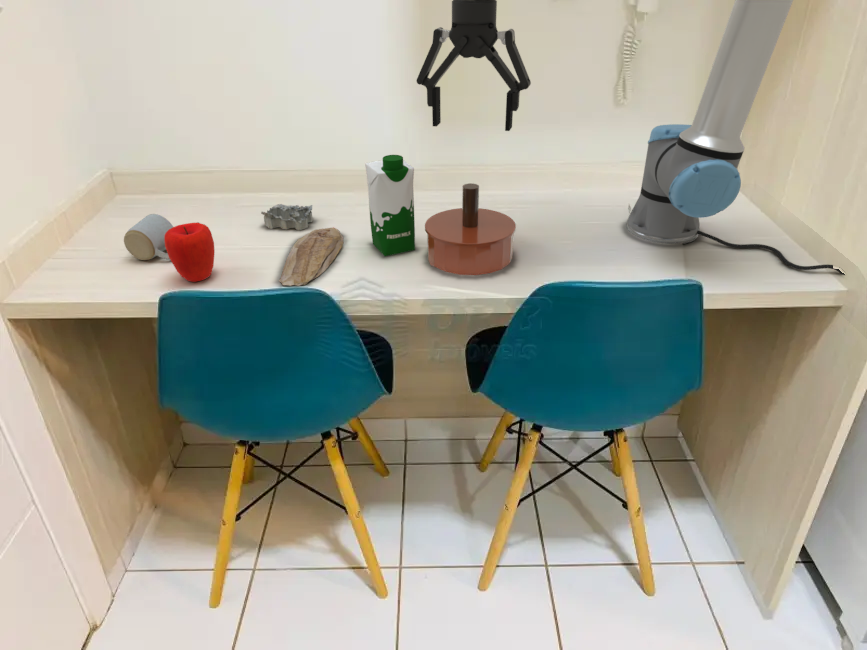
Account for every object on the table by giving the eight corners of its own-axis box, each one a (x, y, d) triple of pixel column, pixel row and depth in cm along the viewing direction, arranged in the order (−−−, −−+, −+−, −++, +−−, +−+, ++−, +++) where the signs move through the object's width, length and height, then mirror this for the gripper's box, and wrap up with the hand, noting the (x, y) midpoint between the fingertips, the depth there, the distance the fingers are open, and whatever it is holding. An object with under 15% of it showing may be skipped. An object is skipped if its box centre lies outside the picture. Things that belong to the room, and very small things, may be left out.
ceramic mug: (125, 260, 131) (116, 226, 127) (149, 244, 138) (141, 211, 134) (171, 266, 129) (162, 231, 125) (193, 249, 136) (185, 216, 132)
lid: (522, 217, 132) (525, 174, 127) (506, 254, 117) (508, 207, 112) (439, 209, 136) (438, 168, 131) (413, 243, 122) (411, 198, 117)
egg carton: (261, 229, 145) (258, 212, 142) (274, 216, 151) (271, 200, 149) (305, 231, 143) (302, 214, 140) (316, 219, 149) (314, 202, 147)
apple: (199, 263, 130) (188, 214, 124) (230, 272, 126) (219, 222, 120) (164, 281, 123) (150, 229, 117) (195, 291, 119) (182, 239, 114)
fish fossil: (326, 286, 120) (325, 280, 120) (274, 289, 121) (273, 284, 120) (345, 229, 142) (344, 224, 141) (300, 233, 143) (299, 228, 142)
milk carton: (382, 259, 130) (376, 164, 119) (367, 243, 137) (359, 151, 126) (420, 251, 133) (418, 157, 122) (404, 235, 140) (400, 145, 129)
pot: (518, 245, 135) (520, 215, 131) (502, 282, 121) (504, 250, 117) (441, 236, 139) (441, 207, 136) (417, 271, 125) (416, 240, 121)
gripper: (396, -2, 105) (401, 127, 116) (546, 0, 98) (536, 136, 110) (410, -6, 111) (414, 117, 122) (552, -5, 104) (542, 125, 116)
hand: (472, 127), depth 116 cm, fingers open, 13 cm apart
